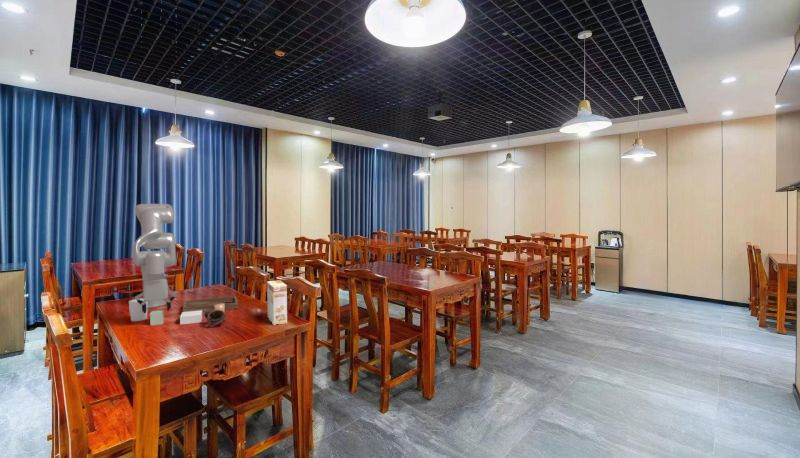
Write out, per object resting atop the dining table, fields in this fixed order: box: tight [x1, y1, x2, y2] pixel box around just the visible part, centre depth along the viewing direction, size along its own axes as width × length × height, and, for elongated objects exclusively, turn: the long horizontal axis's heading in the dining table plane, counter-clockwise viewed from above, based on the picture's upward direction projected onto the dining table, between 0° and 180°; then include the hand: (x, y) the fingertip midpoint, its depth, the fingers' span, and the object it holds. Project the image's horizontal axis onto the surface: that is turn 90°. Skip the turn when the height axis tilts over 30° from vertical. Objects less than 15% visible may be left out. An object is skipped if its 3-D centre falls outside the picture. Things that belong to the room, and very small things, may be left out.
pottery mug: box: [204, 310, 227, 328], centre depth 177 cm, size 12×10×8 cm
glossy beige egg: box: [213, 303, 226, 314], centre depth 195 cm, size 5×5×5 cm
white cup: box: [128, 298, 149, 322], centre depth 184 cm, size 8×8×10 cm
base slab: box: [179, 310, 203, 325], centre depth 183 cm, size 9×9×4 cm
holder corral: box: [182, 295, 239, 314], centre depth 206 cm, size 17×27×4 cm, turn 118°
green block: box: [149, 309, 165, 326], centre depth 179 cm, size 5×5×6 cm
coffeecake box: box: [266, 279, 288, 326], centre depth 184 cm, size 15×7×20 cm, turn 31°
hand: (156, 311), depth 178 cm, fingers open, 9 cm apart
